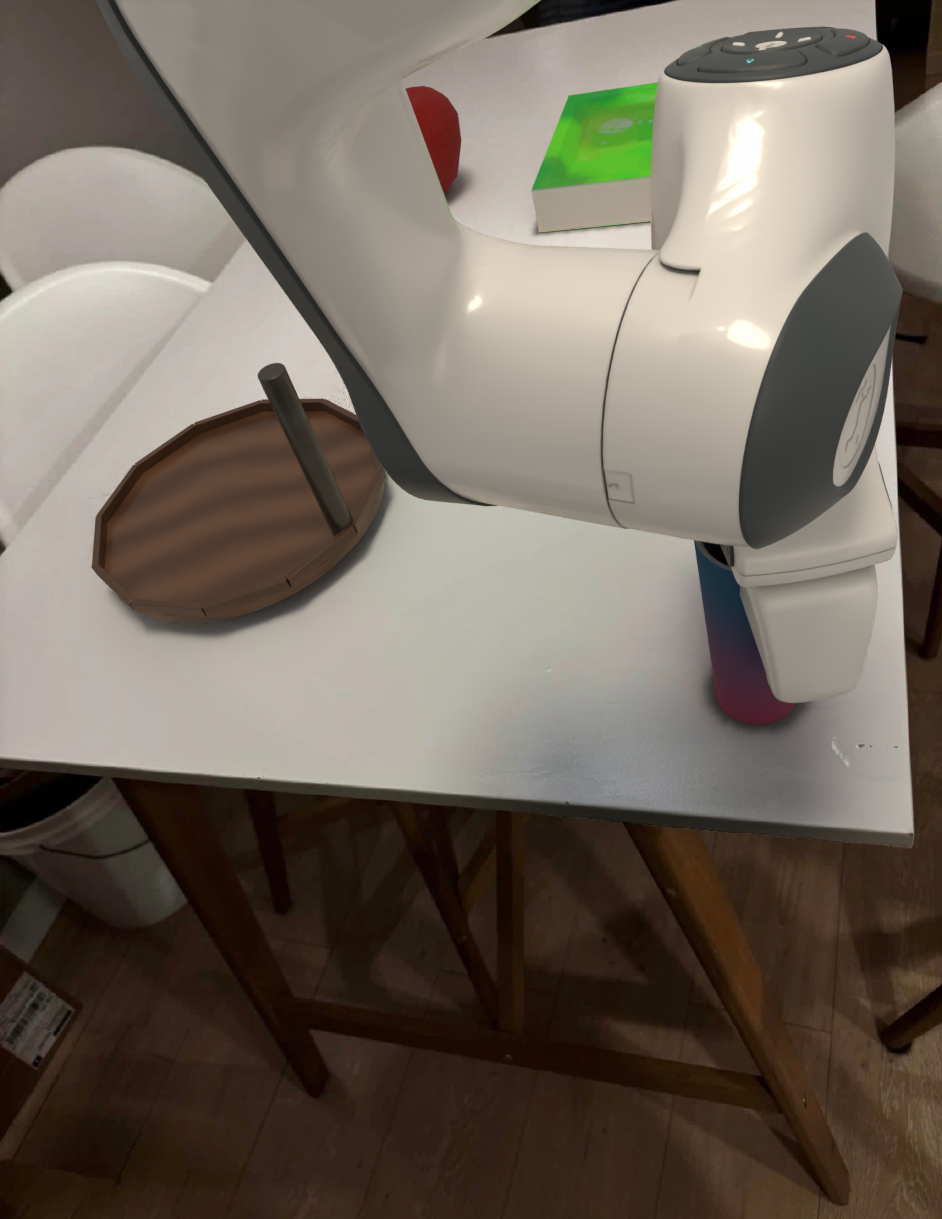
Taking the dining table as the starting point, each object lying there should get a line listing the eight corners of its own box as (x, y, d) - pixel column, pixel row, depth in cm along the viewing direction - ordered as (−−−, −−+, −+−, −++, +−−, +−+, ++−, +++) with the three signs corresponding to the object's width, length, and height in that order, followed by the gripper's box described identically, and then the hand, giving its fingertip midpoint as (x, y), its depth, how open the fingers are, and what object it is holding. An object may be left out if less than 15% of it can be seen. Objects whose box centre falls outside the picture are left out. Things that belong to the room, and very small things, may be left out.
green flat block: (538, 232, 103) (531, 189, 99) (574, 135, 118) (568, 95, 114) (767, 209, 95) (768, 162, 91) (773, 108, 110) (774, 64, 106)
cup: (789, 753, 54) (802, 591, 43) (683, 714, 57) (670, 553, 46) (828, 670, 57) (850, 498, 46) (726, 637, 60) (723, 469, 49)
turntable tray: (411, 557, 70) (342, 384, 58) (98, 665, 70) (-36, 514, 58) (360, 384, 88) (299, 223, 75) (110, 470, 88) (9, 323, 75)
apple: (472, 209, 110) (446, 94, 101) (382, 228, 112) (348, 117, 103) (474, 167, 118) (450, 56, 108) (390, 185, 120) (359, 79, 110)
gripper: (652, 316, 48) (668, 500, 59) (749, 595, 35) (748, 770, 45) (770, 289, 48) (765, 480, 58) (916, 564, 34) (876, 749, 44)
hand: (758, 609), depth 51 cm, fingers open, 8 cm apart
